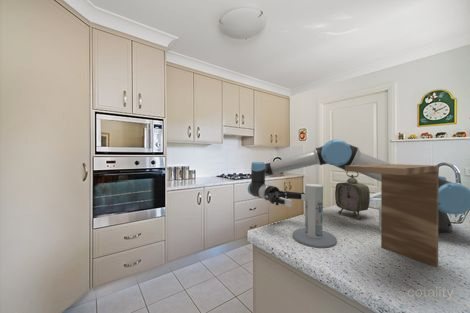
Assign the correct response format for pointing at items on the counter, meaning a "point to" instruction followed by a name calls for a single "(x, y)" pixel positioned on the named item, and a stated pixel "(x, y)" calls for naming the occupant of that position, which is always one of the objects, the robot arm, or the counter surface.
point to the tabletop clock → (352, 196)
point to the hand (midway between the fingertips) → (303, 201)
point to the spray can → (314, 210)
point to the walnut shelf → (408, 208)
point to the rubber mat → (323, 242)
